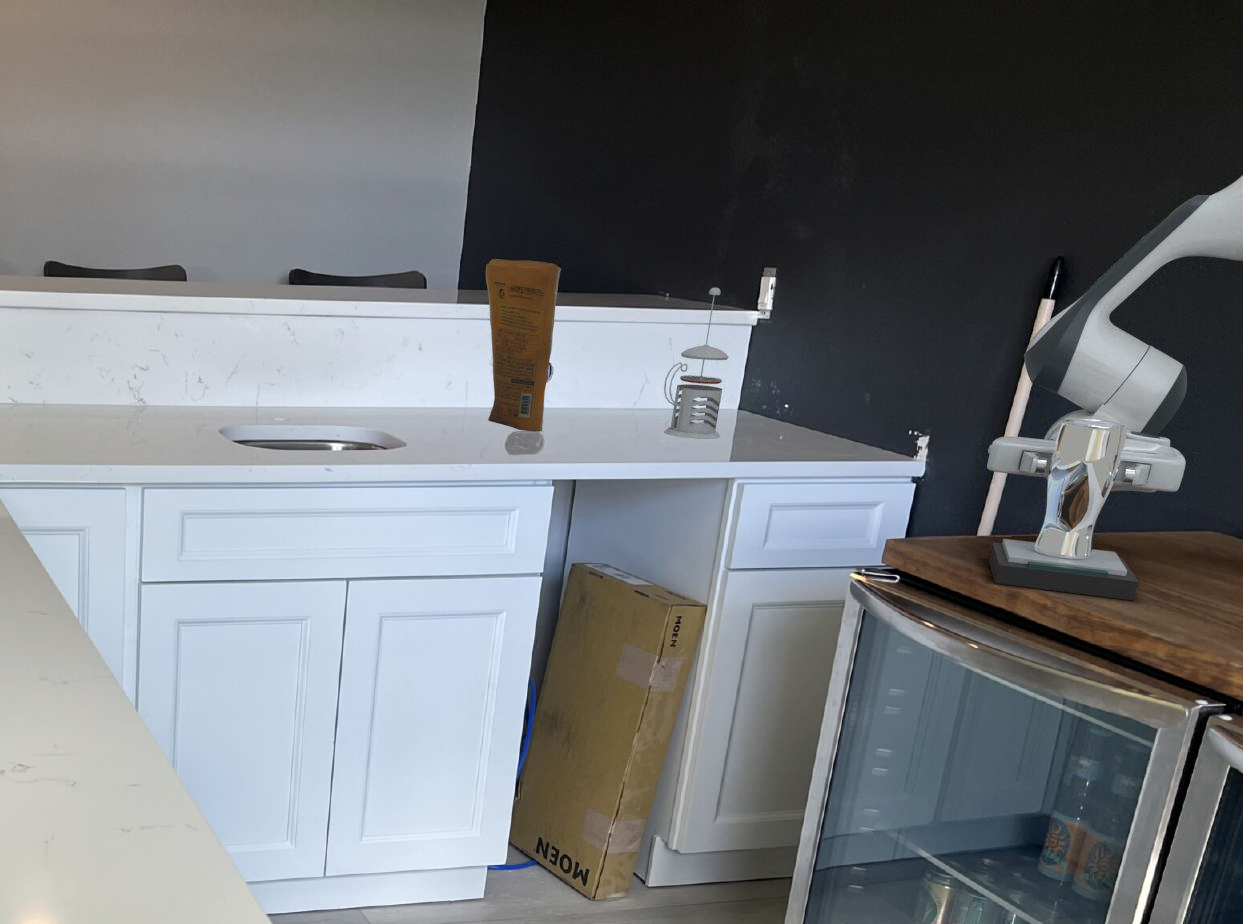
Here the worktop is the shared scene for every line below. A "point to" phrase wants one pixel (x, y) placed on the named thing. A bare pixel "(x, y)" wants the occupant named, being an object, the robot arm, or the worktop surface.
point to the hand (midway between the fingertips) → (1084, 472)
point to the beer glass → (1079, 485)
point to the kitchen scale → (1062, 571)
